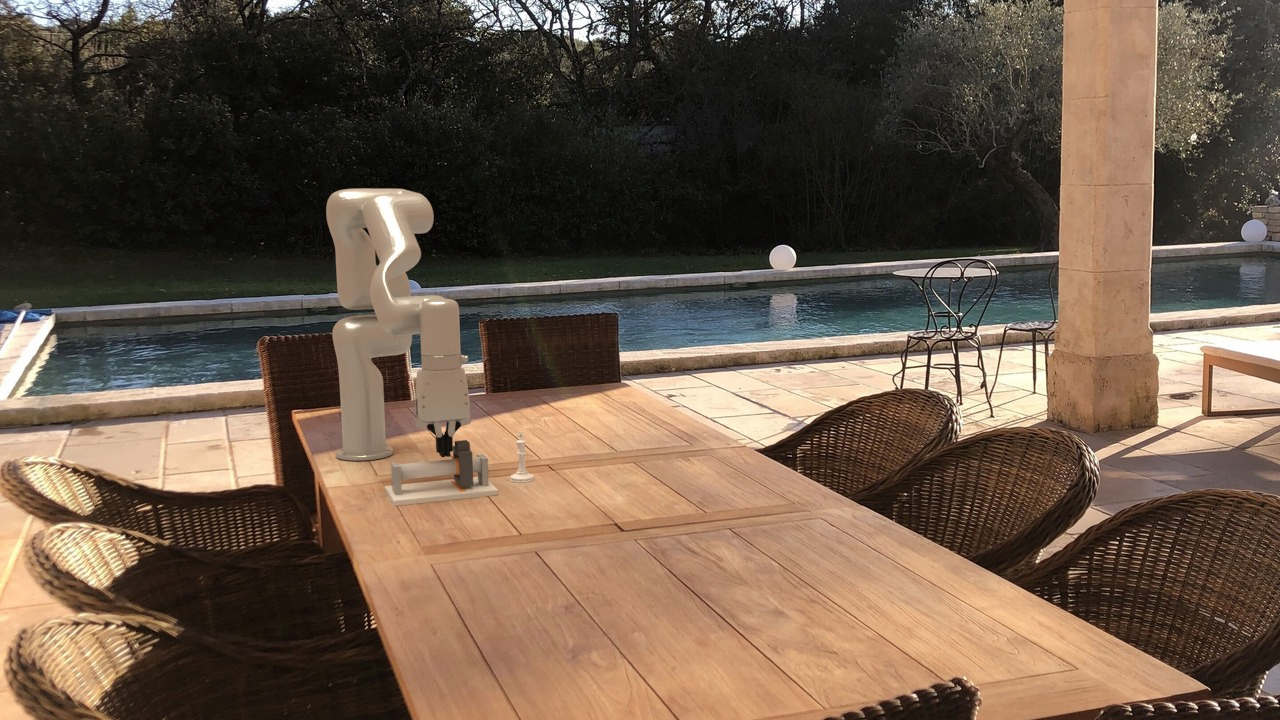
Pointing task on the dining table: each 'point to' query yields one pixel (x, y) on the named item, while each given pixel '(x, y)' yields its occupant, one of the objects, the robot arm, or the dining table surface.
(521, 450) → the chess piece
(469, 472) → the dark grey notched block
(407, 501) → the rail
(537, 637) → the dining table surface
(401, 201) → the robot arm
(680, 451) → the dining table surface
